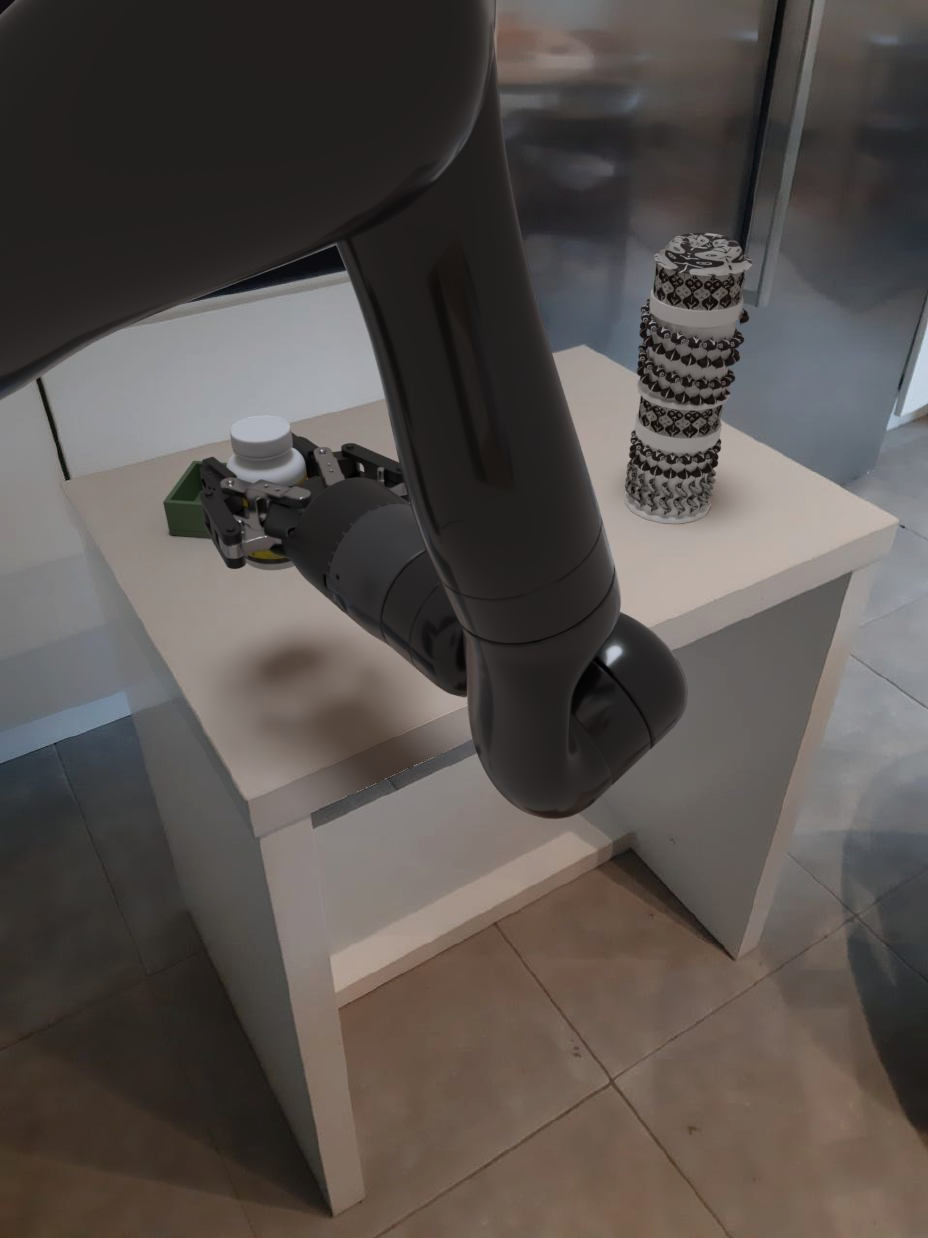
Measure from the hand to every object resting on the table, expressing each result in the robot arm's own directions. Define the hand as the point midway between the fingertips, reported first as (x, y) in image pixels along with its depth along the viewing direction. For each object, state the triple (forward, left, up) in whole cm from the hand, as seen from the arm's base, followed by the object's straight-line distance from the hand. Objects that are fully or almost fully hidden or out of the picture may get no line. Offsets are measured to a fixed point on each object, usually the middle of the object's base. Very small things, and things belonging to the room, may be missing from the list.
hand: (248, 457), depth 68 cm
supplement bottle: (-1, -2, -7) cm, 7 cm away
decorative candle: (+35, -22, -17) cm, 45 cm away
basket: (+15, +16, -17) cm, 28 cm away
